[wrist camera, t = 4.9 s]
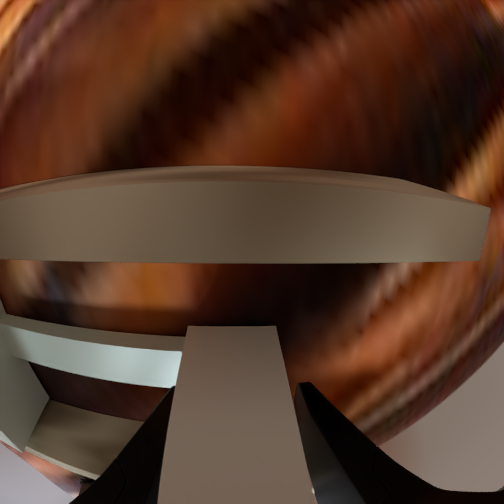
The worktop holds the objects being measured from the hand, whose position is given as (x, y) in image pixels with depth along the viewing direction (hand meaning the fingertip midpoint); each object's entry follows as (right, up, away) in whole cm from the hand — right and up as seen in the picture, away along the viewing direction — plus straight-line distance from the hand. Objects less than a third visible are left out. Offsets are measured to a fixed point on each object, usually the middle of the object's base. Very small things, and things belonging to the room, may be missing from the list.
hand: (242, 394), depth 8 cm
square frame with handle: (-10, +1, +1) cm, 10 cm away
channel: (-13, +1, +1) cm, 13 cm away
